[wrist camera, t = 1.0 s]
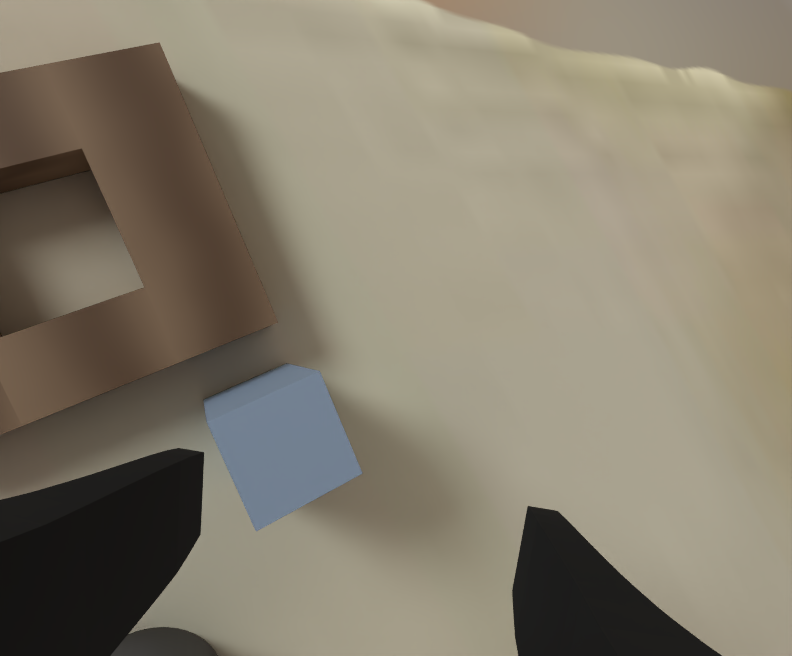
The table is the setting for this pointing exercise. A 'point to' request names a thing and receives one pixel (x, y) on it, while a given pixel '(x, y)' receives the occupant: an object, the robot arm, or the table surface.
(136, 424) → the table surface
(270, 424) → the square peg
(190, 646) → the round peg
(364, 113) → the table surface
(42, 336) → the socket block
